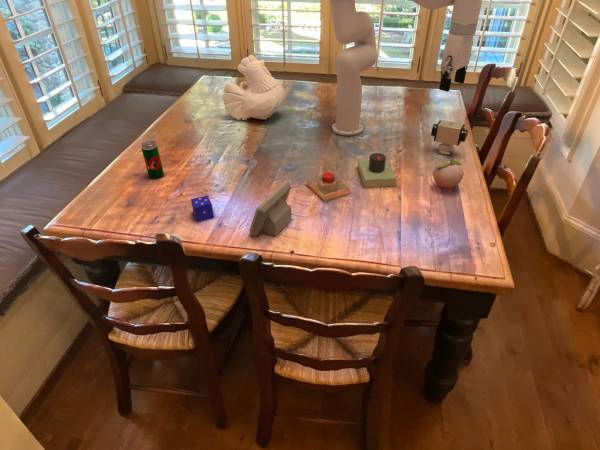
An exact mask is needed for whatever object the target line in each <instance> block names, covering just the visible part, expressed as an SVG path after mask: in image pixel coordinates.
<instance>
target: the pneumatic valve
mask: <svg viewBox="0 0 600 450" xmlns="http://www.w3.org/2000/svg"><path fill="white" fill-rule="evenodd" d="M468 134H469V129H466V124H464V123H458V122H456V121H454V122H453V121H452V120H450V121H447V120H441V119H440V120H439V121H438V122H437V123H434V124H433V125H432V127H431V131H430V135H431V137H433V142H437V143H439V144H438V147H437V150H438V153H439V154H442V155H446V156H450V155H451V154H453V153H454V151H455V146H458V147H459V146H460V145H461V143H465V142H466V140H467V137H468Z"/></svg>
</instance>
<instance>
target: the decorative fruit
mask: <svg viewBox="0 0 600 450" xmlns="http://www.w3.org/2000/svg"><path fill="white" fill-rule="evenodd" d="M461 165H462V166H463V163H462V162H460V161H459V160H453V159H450V160H448V161H446V162H441V163H439V164H437V165H436V166H435V167H434V169H433V171H432V177H433V180H434V182H435V183H436V184H437V185H438V186H439V187H441V188H443V189H446V188H447V189H448V188H453V187H456V186H457V185H459V184H460V183H461V182H462V180H463V178H464V173H465V171H464V169H463V167H462V166H461Z"/></svg>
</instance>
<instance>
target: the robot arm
mask: <svg viewBox="0 0 600 450" xmlns="http://www.w3.org/2000/svg"><path fill="white" fill-rule="evenodd" d="M410 1H411V2H412V3H415V4H416V5H418V6H420V7H422V8H424V9H427V10H430V11H434V10H439V9H441V8H445V7H450V6H452V12H451V16H450V21H449V22H450V23H449V27H448V28H449V29H448V34H447V39H446V41H445V45H444V48H443V53H442V58H441V63H440V80H439V81H440V82H439V87H438V89H439V90H440V91H443V92H447V93H448V92H450V89H451V84H452V78H451V77H452V76H453V74H454V73H455V74H454V78H453V82H455V83H458V84H462V85H463V84H464V83H465V80H466V76H467V71H468V68H469V67H468V65H469V63H470V59H471V57H472V49H473V43H474V36H475V35H476V33H477V27H478V22H479V18H480V12H481V8H482V5H483V0H410ZM329 6H330V11H331V17H332V26H333V31H334V36H335V39H336V41H337V42H338V43H339V44H340V45H349V44H352V43H354V45H352V46H350V47H347V48H343V49H342V50H341V51H340V52H338V54H337V56H336V57H335V62H334V67H335V73H336V107H335V108H336V109H335V111H336V113H335V122H334V123H333V124H332V125H331V130H332V132H333V133H335V134H337V135H340V136H350V137H351V136H356V135H360V134H361V133H362V132H363V130H364V126H363V124H361V123H360V122H361V111H362V109H361V108H362V95H363V83H362V79H361V75H360V74H361V73H362V72H364V71H367V70H369V69H371V68H372V67H374V66H375V64H376V63H377V59H378V49H377V48H378V47H377V40H376V39H377V38H376V32H375V25H374V21H373V19H372V17H371V15H369V14H368V13H367V12H365V11H357V9H356V0H329Z"/></svg>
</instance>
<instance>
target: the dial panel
mask: <svg viewBox="0 0 600 450" xmlns="http://www.w3.org/2000/svg"><path fill="white" fill-rule="evenodd" d="M357 169H358V173H359V175H360V178H361V182H362V186H363V187H364V188H385V187H395V186H396V181H397V177H396V175H395V173H394V171H393V168H392V166H391V163H390V162H389V160H388V159H387V158H386V161H385V170H384V171H383V172H380V173H375V172H372V171H370V170H369V159H358V162H357Z"/></svg>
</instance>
